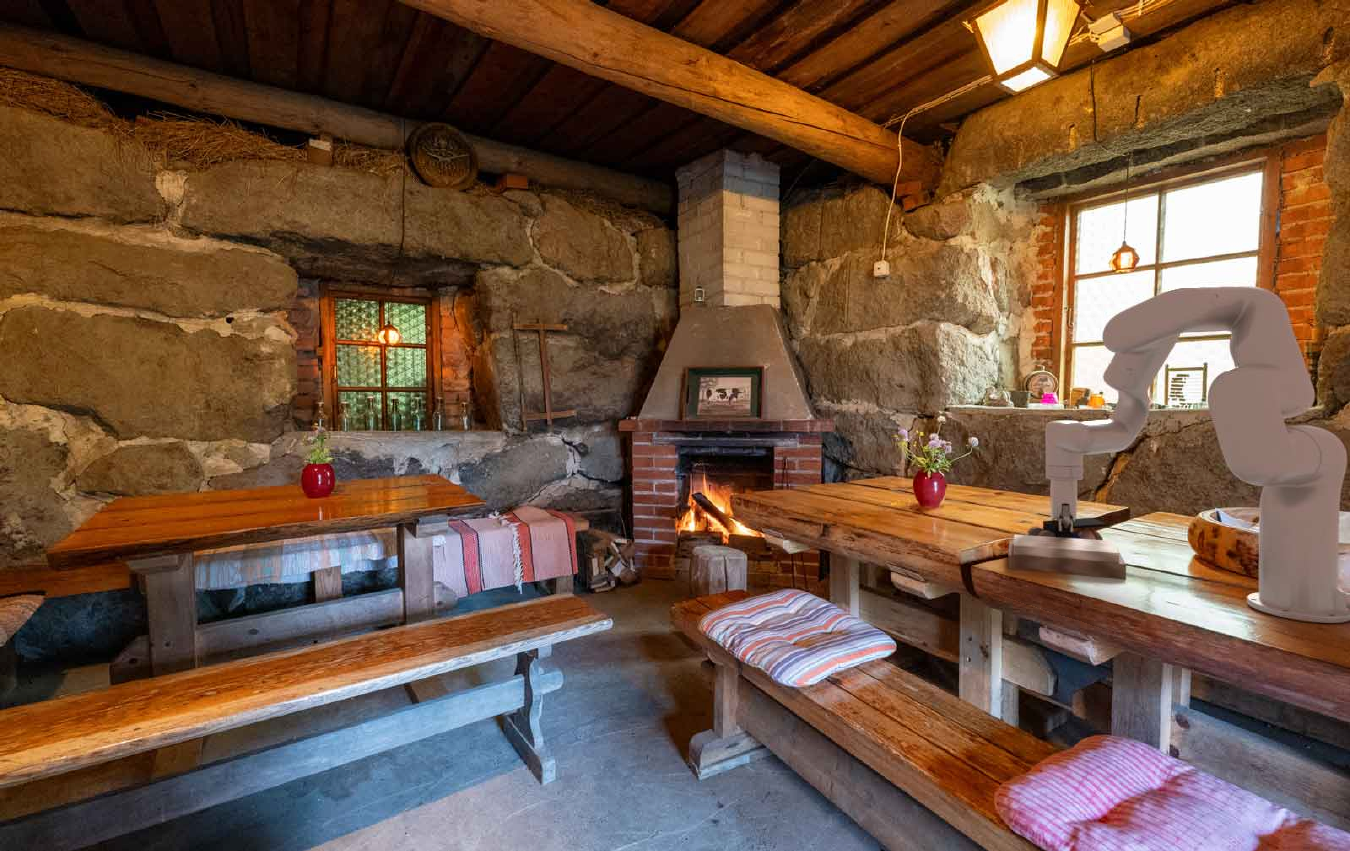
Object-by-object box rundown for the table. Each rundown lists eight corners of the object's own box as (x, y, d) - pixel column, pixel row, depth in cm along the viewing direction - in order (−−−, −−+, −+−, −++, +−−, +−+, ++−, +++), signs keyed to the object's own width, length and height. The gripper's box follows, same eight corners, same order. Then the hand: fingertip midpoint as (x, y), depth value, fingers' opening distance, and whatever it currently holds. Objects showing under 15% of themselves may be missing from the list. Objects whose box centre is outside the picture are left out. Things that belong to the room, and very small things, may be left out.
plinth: (1117, 562, 137) (1117, 540, 136) (1126, 578, 125) (1125, 554, 125) (1010, 553, 147) (1009, 533, 147) (1008, 568, 136) (1008, 546, 135)
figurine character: (1043, 560, 145) (1111, 552, 144) (1039, 529, 145) (1106, 519, 143) (1029, 553, 152) (1093, 545, 151) (1025, 522, 152) (1089, 514, 150)
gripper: (1044, 467, 156) (1045, 535, 157) (1046, 476, 141) (1047, 551, 142) (1080, 468, 153) (1080, 537, 153) (1086, 477, 137) (1086, 554, 138)
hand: (1064, 544), depth 148 cm, fingers closed on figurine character, 8 cm apart
